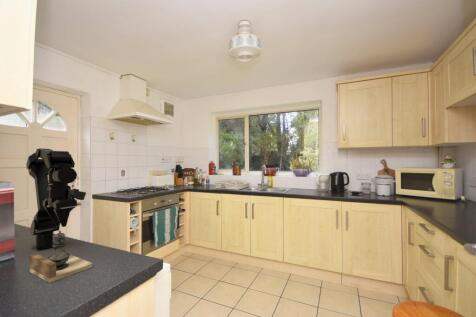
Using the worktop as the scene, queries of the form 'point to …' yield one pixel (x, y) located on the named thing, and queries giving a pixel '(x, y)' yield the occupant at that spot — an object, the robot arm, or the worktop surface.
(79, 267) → the board
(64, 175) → the robot arm
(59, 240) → the grey tall rounded piece
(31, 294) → the worktop surface
